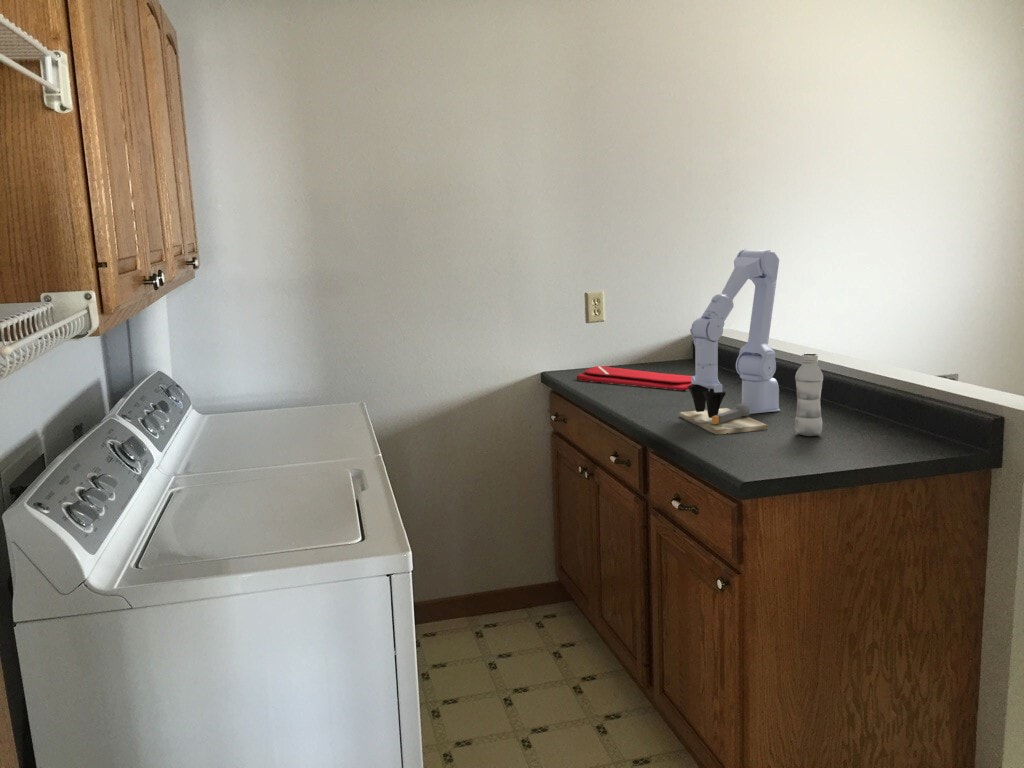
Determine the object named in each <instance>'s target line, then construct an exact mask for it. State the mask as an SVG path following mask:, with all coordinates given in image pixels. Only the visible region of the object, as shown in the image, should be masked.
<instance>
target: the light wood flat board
mask: <svg viewBox="0 0 1024 768" xmlns="http://www.w3.org/2000/svg"><path fill="white" fill-rule="evenodd" d="M731 410H732V409H730V408H728V407H724V408H721V407H720V408H719V411H718V414H721V413H724V412H727V411H731ZM679 417H680V418H682V419H683V420H686V421H688V422H690V423H692V424H694V425H696V426H698V427H700V428H702V429H704V430H705V431H708V432H710V433H712V434H714V435H717V434H718V435H725V434H726V435H727V433H728V434H735V433H736V434H737V433H744V432H745V433H747V432H756V431H757V432H758V431H766V430H767V431H768V424H766V423H764V422H762V421H759V420H757V419H754V418H752V417H749V416H742V417H739V418H736V419H732V420H729V421H726V422H723V423H718V424H712V418H709V416H708V411H707V409H705V410H704V411H703V412H696V410H691V411H681V412H680V411H679Z"/></svg>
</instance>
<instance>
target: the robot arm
mask: <svg viewBox="0 0 1024 768" xmlns="http://www.w3.org/2000/svg"><path fill="white" fill-rule="evenodd" d="M779 264H780V258H779V257H778V255H777V253H776V251H774V250H773V249H746V248H744V249H741V250H739V252H738V253H737V255H736V257H735V258H734V260H733V266H734V268H733V270H732V272H731V274H730V276H729V278H728V280H727V282H726V283H725V285H724V288H723V289H722V292H721V293H719V294H715V295H714V296H712V298H711V300H710V302H709V304H708V305H707V307H706V308H705V310H704V312H703V313H702V315H701V316H700V317H699V318H696V319H695V320H694V321H693V323H691V324H692V325H691V328H690V329H689V330H690V331H689V332H690V336H691V337H692V340H693V344H694V349H695V351H694V352H695V356H694V357H695V359H694V360H695V361H694V362H695V370H694V372H695V375H690V376H691V383H692V384H693V385H691V386H688V389H689V393H690V394H691V398H692V400H693V404H694V409H695V411H696V412H703V411H704V410H707V411H708V416H709V418H712V416H714V415H717V414H718V411H719V409H721V404H722V401H723V399H724V398H725V396H726V394H727V393H726V391H725V390H723V384H722V383H721V382H720V381H719V378H718V377H719V375H718V372H719V371H718V370H719V369H718V367H719V365H718V363H719V361H718V360H719V359H718V358H719V357H718V355H719V351H718V348H719V347H718V345H719V341H718V340H719V339H721V337H722V336H723V333H724V327H725V321H726V320H727V318H728V316H729V315H730V314H731V311H732V310H733V308H734V300H735V297H736V296H737V295H738V294H739V292H740V291H741V290H742V289H743V287H744V285H745V284H746V283H747V281H748V280H750V281H751V282H752V284H754V295H753V301H752V308H751V314H750V316H751V317H750V324H749V331H748V336H747V337H748V339H747V342H746V343H745V344H744V345H743V346H742V347H741V348H740V349H739V354H738V356H737V358H736V362H735V370H736V372H737V374H738V375H739V378H740V379H741V404H742V403H743V404H750V415H753V414H760V413H761V414H762V413H770V412H780V411H781V409H780V407H779V406H780V404H779V401H780V399H779V398H780V394H779V393H780V388H779V387H780V386H779V383H778V381H777V379H776V378H774V376H775V375H774V374H775V373H776V370H777V363H776V352H775V350H774V349H773V348H772V347H771V346H770V345H769V342H770V341H769V340H770V331H771V325H772V319H773V310H774V302H775V296H776V295H775V294H776V288H777V280H778V273H779ZM706 407H707V409H706Z"/></svg>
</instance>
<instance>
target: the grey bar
mask: <svg viewBox="0 0 1024 768" xmlns="http://www.w3.org/2000/svg"><path fill="white" fill-rule="evenodd" d="M742 416H747V417H749V416H751V414H750V404H743V403H742V402H741V403H736V404H735V409H731V411H727V412H724V413H721V414H717V415H714V416H712V424H718V423H723V422H726V421H729V420H732V419H736V418H739V417H742Z"/></svg>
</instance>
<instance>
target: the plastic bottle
mask: <svg viewBox="0 0 1024 768" xmlns="http://www.w3.org/2000/svg"><path fill="white" fill-rule="evenodd" d="M818 359H819V354H817V353H802V354H801V366H800V367H799V368H798V369H797V371H796V372H795V376H794V379H795V387H796V396H797V397H796V402H797V403H796V415H795V419H794V424H793V425H794V431H795V432H796V434H797V435H801V436H806V437H814V436H819V435H820V434H821V433H822V430H823V425H824V424H823V419H822V408H821V397H822V396H821V395H822V389H823V381H824V373H823V372H822V370H821V368H820V367H819V366H818V364H817V363H819V360H818Z"/></svg>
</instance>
